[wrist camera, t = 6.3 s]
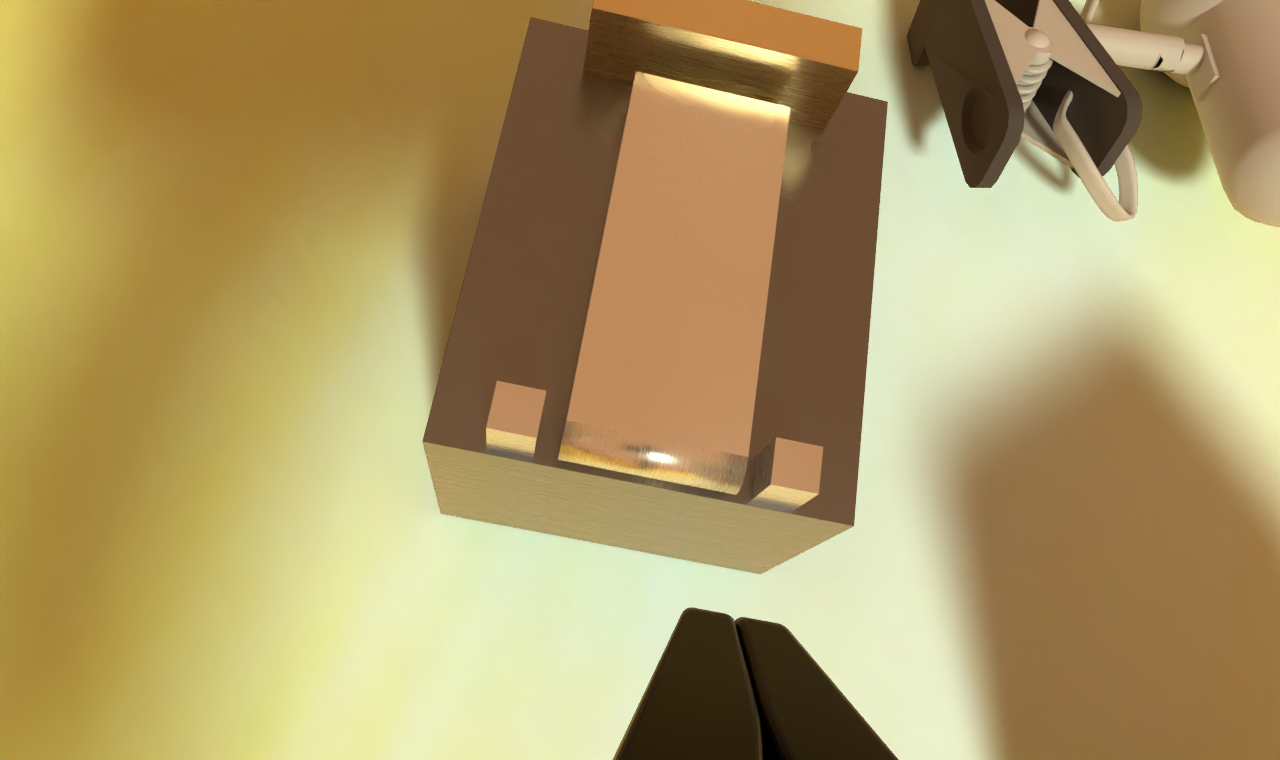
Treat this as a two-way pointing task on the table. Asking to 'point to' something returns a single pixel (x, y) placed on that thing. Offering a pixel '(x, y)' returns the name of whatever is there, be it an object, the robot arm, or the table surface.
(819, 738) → the robot arm
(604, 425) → the tan flat block
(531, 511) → the dark grey box
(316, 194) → the table surface
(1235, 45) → the clip-on lamp
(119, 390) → the table surface
